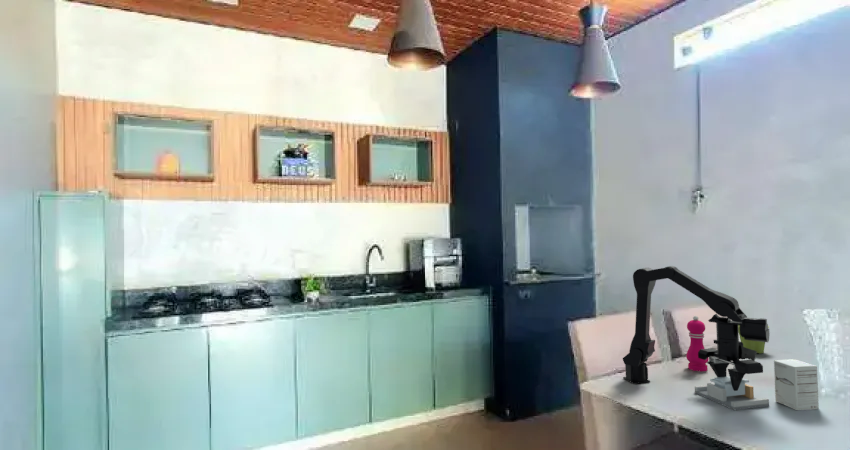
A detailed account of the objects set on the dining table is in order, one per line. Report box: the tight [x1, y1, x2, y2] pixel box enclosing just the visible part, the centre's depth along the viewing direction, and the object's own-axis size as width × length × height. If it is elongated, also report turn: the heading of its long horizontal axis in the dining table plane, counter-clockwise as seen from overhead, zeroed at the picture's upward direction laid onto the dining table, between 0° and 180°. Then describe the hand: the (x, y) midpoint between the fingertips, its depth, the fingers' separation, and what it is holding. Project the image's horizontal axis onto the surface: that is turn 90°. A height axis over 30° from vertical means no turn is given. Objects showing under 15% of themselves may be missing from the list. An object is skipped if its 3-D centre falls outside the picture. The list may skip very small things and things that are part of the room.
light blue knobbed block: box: [709, 375, 750, 397], centre depth 141 cm, size 10×4×5 cm, turn 100°
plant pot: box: [738, 325, 770, 354], centre depth 194 cm, size 12×12×11 cm
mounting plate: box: [694, 382, 770, 411], centre depth 141 cm, size 12×15×4 cm
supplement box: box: [773, 358, 820, 411], centre depth 135 cm, size 7×7×13 cm
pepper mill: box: [685, 315, 709, 372], centre depth 172 cm, size 7×7×20 cm
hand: (729, 388), depth 141 cm, fingers closed on light blue knobbed block, 4 cm apart
